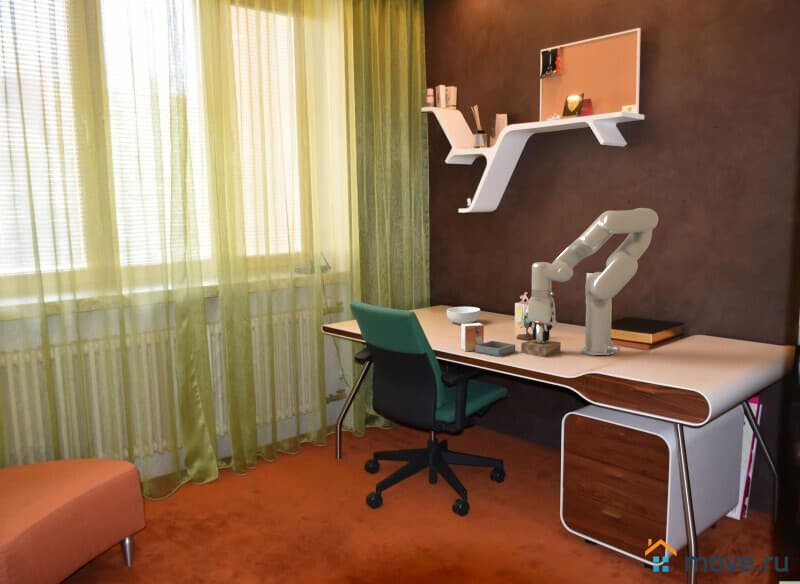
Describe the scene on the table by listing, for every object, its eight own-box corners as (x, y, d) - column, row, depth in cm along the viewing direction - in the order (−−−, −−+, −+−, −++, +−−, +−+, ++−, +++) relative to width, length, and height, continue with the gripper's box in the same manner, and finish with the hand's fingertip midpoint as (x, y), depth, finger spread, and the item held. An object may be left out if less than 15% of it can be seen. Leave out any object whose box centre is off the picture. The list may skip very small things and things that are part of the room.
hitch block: (560, 352, 258) (560, 342, 257) (545, 357, 250) (545, 346, 249) (536, 348, 265) (536, 338, 265) (521, 352, 257) (521, 343, 257)
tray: (515, 351, 260) (515, 344, 259) (498, 356, 252) (498, 349, 251) (492, 347, 267) (492, 340, 267) (475, 352, 259) (475, 345, 259)
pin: (550, 352, 258) (550, 320, 256) (542, 354, 254) (543, 322, 252) (538, 350, 261) (539, 319, 259) (531, 352, 258) (531, 320, 256)
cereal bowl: (444, 320, 330) (444, 306, 329) (477, 319, 331) (477, 306, 330) (449, 327, 314) (449, 312, 313) (483, 326, 314) (483, 311, 314)
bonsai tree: (518, 335, 291) (518, 308, 290) (539, 336, 289) (540, 309, 287) (515, 340, 281) (516, 313, 279) (537, 341, 278) (538, 313, 277)
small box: (464, 351, 261) (464, 326, 260) (460, 348, 267) (460, 323, 265) (483, 350, 263) (483, 324, 262) (479, 347, 268) (479, 322, 267)
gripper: (565, 294, 251) (564, 341, 254) (528, 291, 263) (528, 335, 265) (555, 296, 246) (554, 344, 248) (517, 293, 257) (517, 338, 260)
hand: (540, 339), depth 257 cm, fingers closed on pin, 4 cm apart
